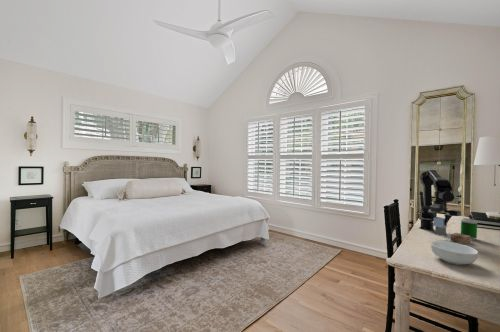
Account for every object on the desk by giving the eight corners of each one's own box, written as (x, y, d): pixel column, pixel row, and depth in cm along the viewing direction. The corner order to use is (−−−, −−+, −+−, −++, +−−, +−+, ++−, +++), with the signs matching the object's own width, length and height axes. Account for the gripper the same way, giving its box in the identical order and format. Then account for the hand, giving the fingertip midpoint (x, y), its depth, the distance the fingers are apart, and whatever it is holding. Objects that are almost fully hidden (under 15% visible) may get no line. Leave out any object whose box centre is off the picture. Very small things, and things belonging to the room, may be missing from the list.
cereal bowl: (427, 260, 114) (428, 245, 114) (433, 252, 126) (434, 238, 126) (476, 273, 102) (477, 256, 102) (478, 262, 114) (478, 247, 114)
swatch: (443, 236, 154) (443, 235, 154) (447, 235, 156) (447, 234, 156) (453, 238, 150) (453, 238, 150) (456, 237, 152) (456, 237, 152)
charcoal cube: (435, 234, 159) (435, 226, 159) (436, 232, 163) (436, 225, 163) (444, 235, 156) (445, 228, 156) (445, 234, 159) (446, 226, 159)
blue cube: (433, 225, 151) (433, 217, 151) (437, 224, 153) (437, 216, 153) (442, 227, 147) (443, 219, 147) (446, 226, 149) (447, 218, 149)
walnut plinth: (450, 240, 146) (450, 234, 146) (455, 239, 149) (455, 232, 149) (465, 244, 140) (465, 237, 140) (470, 242, 143) (470, 235, 143)
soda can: (477, 241, 146) (478, 221, 146) (461, 238, 150) (461, 219, 150) (475, 238, 152) (476, 219, 152) (460, 235, 156) (460, 217, 156)
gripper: (417, 198, 154) (416, 222, 154) (453, 202, 138) (452, 229, 138) (426, 197, 159) (425, 220, 160) (462, 201, 143) (461, 227, 143)
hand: (440, 224), depth 150 cm, fingers closed on blue cube, 5 cm apart
